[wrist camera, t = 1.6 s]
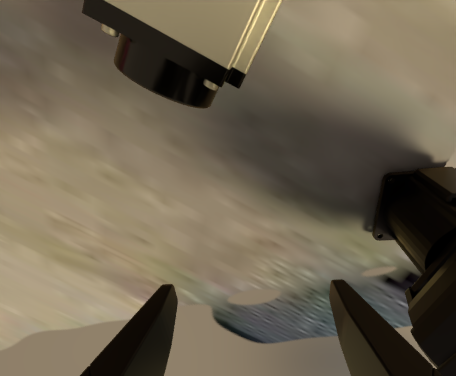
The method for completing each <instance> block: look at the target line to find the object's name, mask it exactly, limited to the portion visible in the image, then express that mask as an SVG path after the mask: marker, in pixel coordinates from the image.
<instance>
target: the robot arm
mask: <svg viewBox="0 0 456 376" xmlns="http://www.w3.org/2000/svg"><path fill="white" fill-rule="evenodd" d="M390 178H393V179H392V180H391V181H388V180H389V179H390ZM378 234H380V235H378ZM372 235H373V237H374V238H375V239H376V240H395V241H396V242H397V243H398V245H399V246H400V247H401V249H402V250H403V251H404V252H405V254H406V255H407V256H408V257H409V259H410V260H411V261H412V262H413V264H414V265H415V266H416V268H417V269H418V270H419V271H420V273H421V274H422V275H421V276H420V278H419V279H418V280H417V281H416V282H415V283H414V285H413V286H412V287H409V288H408V289H407V290H406V291H405V295H406V299H407V303H408V306H409V309H408V314H409V317H410V320H411V323H412V326H413V328H412V329H411V333H412V335H413V337H414V339H415V341H416V342H417V344H418V345H419V347H420V348H421V350H422V351H423V352H424V353H425V355H426V356H427V357H428V358H429V360H430V361H431V362H432V363H433V364H434V365H435V366H436V367H437V369H435V368H433V366H432V365H431V364H430V363H429V362H428V361H427V360H426V359H425V358H424V357H423V356H422V355H421V354H420V353H419V352H418V351H417V350H416V349H414V348H413V346H412V345H410V344H409V343H408V342H407V341H406V340H405V339H404V338H403V337H402V336H401V335H400V334H399V333H398V332H397V331H396V330H395V329H394V328H393V327H392V326H391V325H390V324H389V323H388V322H387V321H386V320H385V319H384V318H383V317H382V316H380V315H379V314H378V313H377V312H376V311H375V310H374V309H373V308H372V307H371V306H370V305H369V304H368V303H367V302H366V301H365V300H364V299H363V298H362V297H361V296H360V295H359V294H358V293H357V292H356V291H355V290H354V289H353V288H352V287H350V286H349V285H348V284H347V283H346V282H345V281H344V280H332V281H331V285H330V294H329V299H330V304H331V308H332V312H333V317H334V321H335V325H336V329H337V333H338V338H339V341H340V345H341V348H342V351H343V354H344V357H345V360H346V363H347V366H348V368H349V371H350V374H351V376H456V168H453V167H438V168H424V169H417V170H415V171H409V172H395V173H388V174H386V175H385V176H384V177H383V180H382V185H381V190H380V196H379V201H378V206H377V212H376V217H375V222H374V227H373V233H372ZM177 304H178V300H177V296H176V292H175V288H174V286H173V285H172V284H164V285H162V286H161V287H160V288H159V289H158V290H157V291H156V292H155V293H154V294H153V295H152V296H151V298H150V299H149V300H148V301H147V302H146V303H145V304H144V305H143V306H142V308H141V309H140V310H139V311H138V312H137V313H136V314H135V315H134V316H133V317H132V319H131V320H130V321H129V322H128V323H127V324H126V325H125V326H124V327H123V329H122V330H121V331H120V332H119V333H118V334H117V335H116V336H115V337H114V339H113V340H112V341H111V342H110V343H109V344H108V345H107V346H106V347H105V348H104V350H103V351H102V352H101V353H100V354H99V355H98V356H97V357H96V358H95V359H94V361H93V362H92V363H91V364H90V366H88V367H87V368H86V369H85V370H84V371H83V373H82V374H81V375H80V376H164V373H165V369H166V365H167V361H168V357H169V353H170V349H171V345H172V339H173V332H174V325H175V318H176V311H177Z"/></svg>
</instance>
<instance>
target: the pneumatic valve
mask: <svg viewBox="0 0 456 376" xmlns="http://www.w3.org/2000/svg"><path fill="white" fill-rule="evenodd" d="M282 1H283V0H84V4H83V10H82V13H84V14H85V15H87V16H89V17H91V18H93V19H95V20H97V21H98V22H100V23H102V26H101V30H102V31H104V32H105V33H107V34H109V35H111V36H114V37H118V36H119V33H121V34H120V38H119V42H118V46H117V50H116V54H115V58H114V64H115V66H116V67H117V69H118V70H119V71H120V72H122V73H123V74H124V75H125V76H127V77H128V78H129V79H131V80H132V81H134V82H135V83H137V84H139V85H140V86H142V87H144V88H146V89H148V90H150V91H152V92H154V93H156V94H158V95H160V96H162V97H164V98H167V99H169V100H172V101H174V102H177V103H180V104H183V105H186V106H190V107H194V108H208V107H210V106H211V104H212V102H213V99H214V97H215V95H216V93H217V91H218V88H219V87H222V86H223V84H224V83H225V82H227V83H229V84H231V85H233V86H235V87H236V88H240V86H241V84H242V82H243V80H244V78H245V76H246V74H247V72H248V70H249V68H250V66H251V64H252V62H253V60H254V58H255V55H256V53H257V51H258V49H259V47H260V45H261V43H262V41H263V39H264V37H265V35H266V33H267V31H268V29H269V27H270V25H271V23H272V21H273V19H274V17H275V15H276V13H277V11H278V9H279V7H280V5H281V3H282Z"/></svg>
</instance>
